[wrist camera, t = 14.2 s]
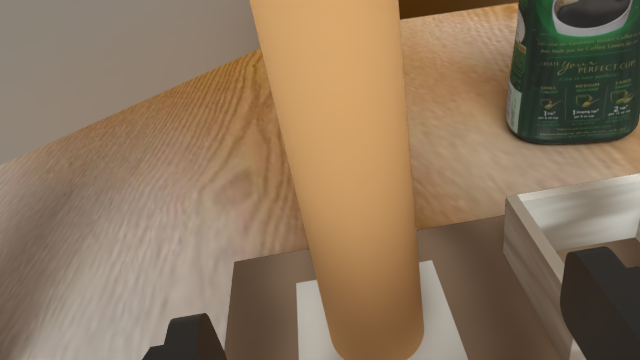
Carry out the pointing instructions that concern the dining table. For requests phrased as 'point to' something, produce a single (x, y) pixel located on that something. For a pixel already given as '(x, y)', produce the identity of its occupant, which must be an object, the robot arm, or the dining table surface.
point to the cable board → (455, 281)
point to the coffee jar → (575, 71)
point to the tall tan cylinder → (349, 164)
